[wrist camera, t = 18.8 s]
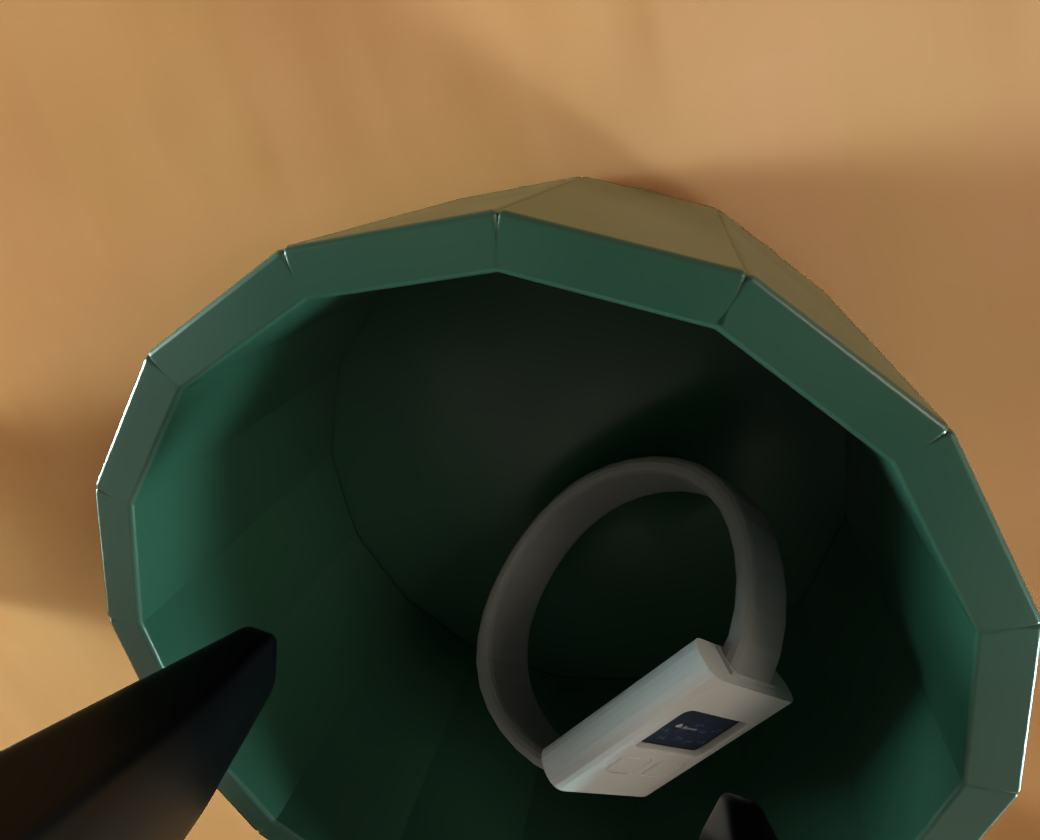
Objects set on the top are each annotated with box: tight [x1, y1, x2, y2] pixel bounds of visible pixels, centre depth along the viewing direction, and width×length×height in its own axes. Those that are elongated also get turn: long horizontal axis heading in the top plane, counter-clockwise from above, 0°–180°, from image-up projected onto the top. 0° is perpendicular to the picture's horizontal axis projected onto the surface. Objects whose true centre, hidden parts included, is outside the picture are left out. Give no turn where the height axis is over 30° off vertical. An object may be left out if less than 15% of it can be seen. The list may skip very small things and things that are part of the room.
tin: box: [95, 177, 1040, 840], centre depth 11 cm, size 12×12×6 cm
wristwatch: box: [476, 456, 793, 797], centre depth 12 cm, size 6×3×5 cm
